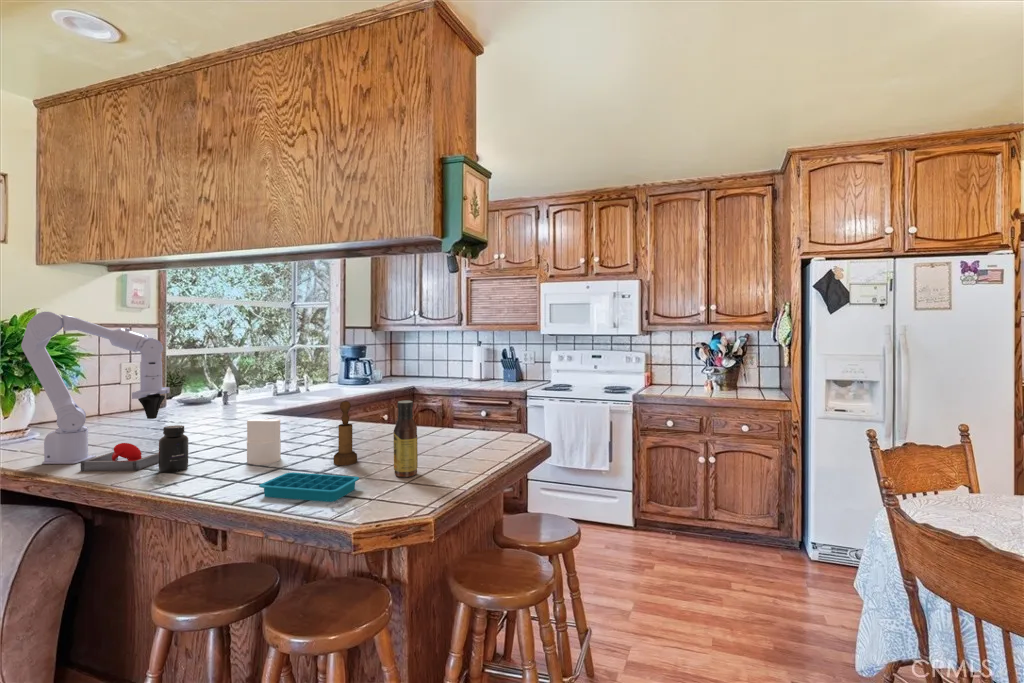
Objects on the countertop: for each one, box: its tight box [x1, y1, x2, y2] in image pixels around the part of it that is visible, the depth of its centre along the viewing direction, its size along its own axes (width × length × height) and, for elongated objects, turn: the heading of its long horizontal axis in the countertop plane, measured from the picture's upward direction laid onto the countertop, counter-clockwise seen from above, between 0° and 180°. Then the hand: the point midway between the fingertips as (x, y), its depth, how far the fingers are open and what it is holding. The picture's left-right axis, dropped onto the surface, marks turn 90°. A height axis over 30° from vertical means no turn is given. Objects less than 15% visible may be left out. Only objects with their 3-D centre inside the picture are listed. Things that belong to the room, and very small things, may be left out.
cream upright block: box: [246, 418, 282, 465], centre depth 148 cm, size 9×9×12 cm
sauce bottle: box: [393, 400, 419, 478], centre depth 133 cm, size 6×6×20 cm
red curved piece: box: [112, 442, 142, 461], centre depth 144 cm, size 8×6×6 cm
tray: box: [80, 451, 159, 472], centre depth 143 cm, size 15×12×2 cm
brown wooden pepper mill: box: [333, 400, 358, 466], centre depth 146 cm, size 7×6×18 cm
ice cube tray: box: [258, 471, 360, 503], centre depth 119 cm, size 12×20×3 cm, turn 78°
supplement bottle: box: [158, 424, 189, 474], centre depth 138 cm, size 7×7×12 cm
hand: (151, 418), depth 159 cm, fingers closed
